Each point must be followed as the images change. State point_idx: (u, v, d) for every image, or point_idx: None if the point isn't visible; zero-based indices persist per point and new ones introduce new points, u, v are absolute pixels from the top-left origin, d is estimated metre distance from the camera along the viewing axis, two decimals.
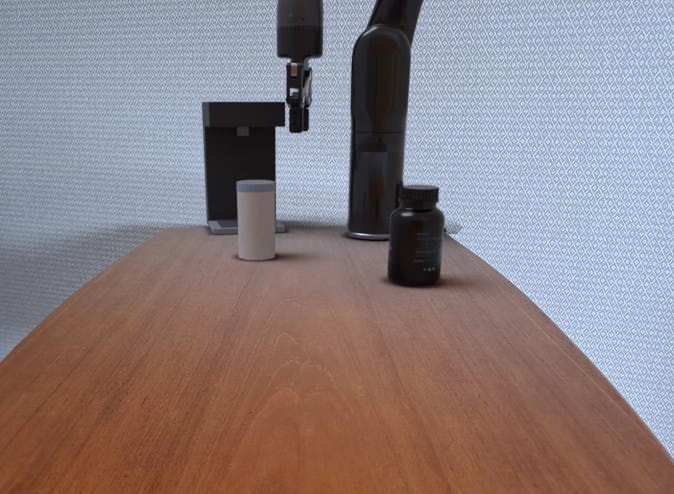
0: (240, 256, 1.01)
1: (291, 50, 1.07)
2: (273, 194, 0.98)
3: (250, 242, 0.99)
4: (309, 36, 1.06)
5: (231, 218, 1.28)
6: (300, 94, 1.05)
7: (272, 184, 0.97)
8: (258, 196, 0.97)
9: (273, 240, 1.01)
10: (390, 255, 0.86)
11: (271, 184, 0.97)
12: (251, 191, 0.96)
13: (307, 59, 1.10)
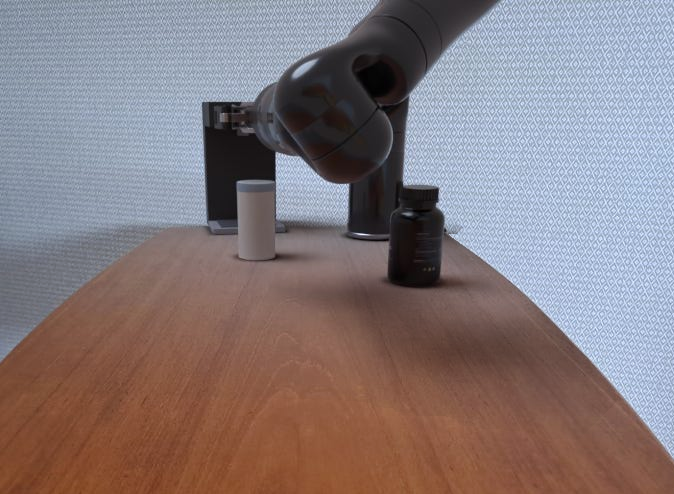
0: (240, 256, 1.01)
1: (252, 109, 0.73)
2: (273, 194, 0.98)
3: (250, 242, 0.99)
4: (260, 136, 0.72)
5: (231, 218, 1.28)
6: (215, 127, 0.79)
7: (272, 184, 0.97)
8: (258, 196, 0.97)
9: (273, 240, 1.01)
10: (390, 255, 0.86)
11: (271, 184, 0.97)
12: (251, 191, 0.96)
13: None
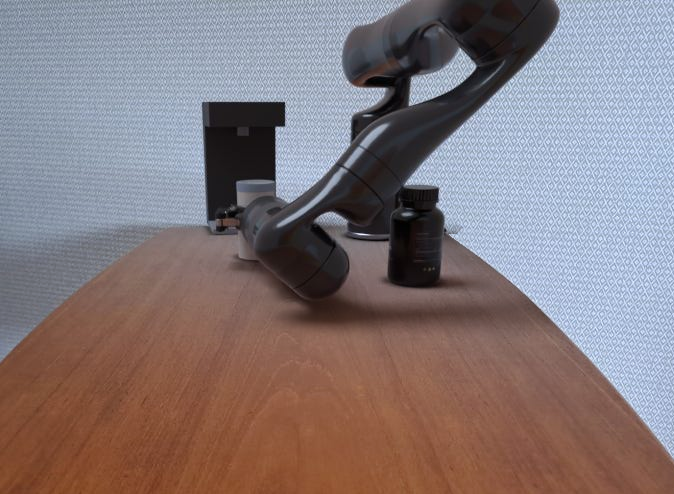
0: (240, 256, 1.01)
1: (241, 218, 0.90)
2: (273, 194, 0.98)
3: None
4: None
5: None
6: None
7: (272, 184, 0.97)
8: (258, 196, 0.97)
9: None
10: (390, 255, 0.86)
11: (271, 184, 0.97)
12: (251, 191, 0.96)
13: None
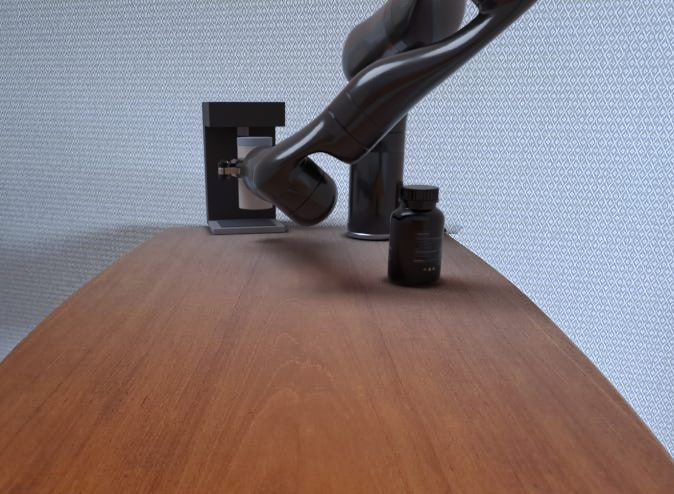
0: (240, 206, 1.11)
1: (242, 166, 0.99)
2: None
3: (249, 192, 1.09)
4: (247, 186, 0.99)
5: (231, 218, 1.28)
6: None
7: (269, 139, 1.07)
8: None
9: None
10: (390, 255, 0.86)
11: (268, 139, 1.07)
12: (250, 144, 1.06)
13: None
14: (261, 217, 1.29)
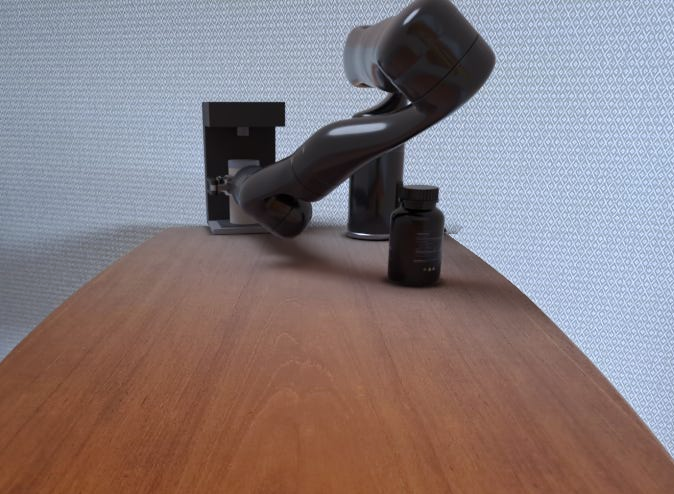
0: (231, 221, 1.24)
1: (231, 183, 1.13)
2: None
3: (239, 209, 1.22)
4: (236, 202, 1.12)
5: None
6: (207, 191, 1.19)
7: (257, 162, 1.21)
8: None
9: None
10: (390, 255, 0.86)
11: (256, 162, 1.20)
12: (239, 167, 1.20)
13: None
14: None
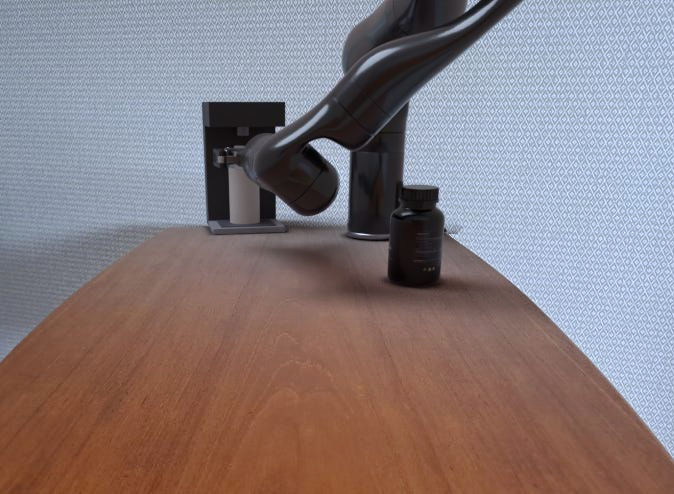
0: (231, 221, 1.24)
1: (242, 154, 0.98)
2: None
3: (239, 209, 1.22)
4: (247, 175, 0.97)
5: None
6: (214, 164, 1.04)
7: None
8: None
9: (258, 208, 1.24)
10: (390, 255, 0.86)
11: None
12: None
13: None
14: (261, 217, 1.29)
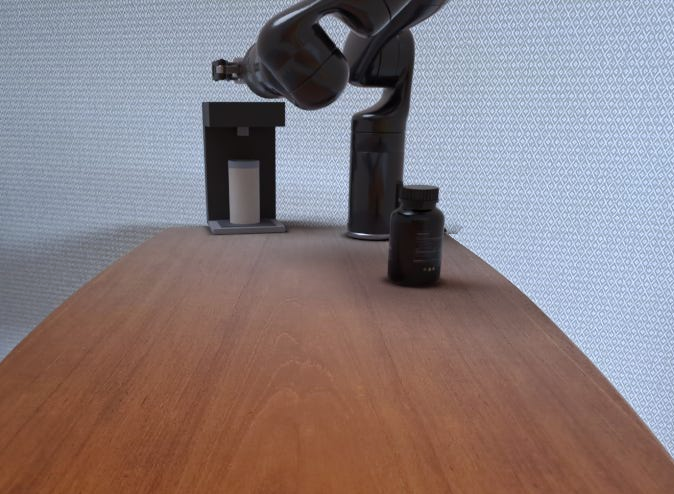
0: (231, 221, 1.24)
1: (243, 62, 0.90)
2: (258, 170, 1.22)
3: (239, 209, 1.22)
4: (249, 83, 0.89)
5: None
6: (213, 78, 0.96)
7: (257, 162, 1.21)
8: (245, 172, 1.20)
9: (258, 208, 1.24)
10: (390, 255, 0.86)
11: (256, 162, 1.20)
12: (239, 167, 1.20)
13: None
14: (261, 217, 1.29)
